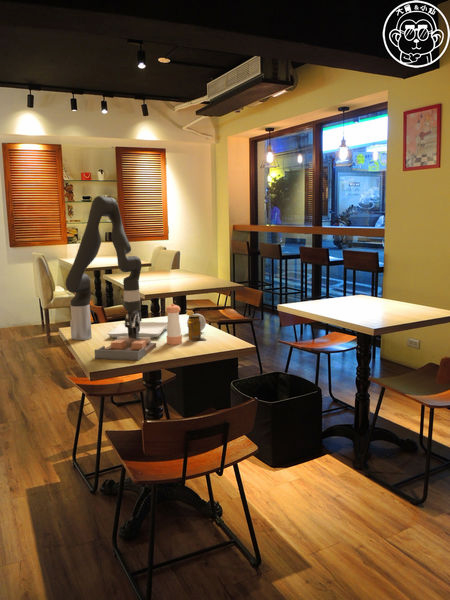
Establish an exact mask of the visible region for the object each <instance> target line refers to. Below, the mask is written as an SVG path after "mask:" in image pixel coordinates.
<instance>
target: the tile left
mask: <svg viewBox="0 0 450 600" xmlns="http://www.w3.org/2000/svg"><path fill="white" fill-rule="evenodd" d="M110 345H111V348H123V347H124V346H126V340H117V339H115V340H113V341H111V342H110Z"/></svg>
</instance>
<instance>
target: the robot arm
mask: <svg viewBox="0 0 450 600" xmlns="http://www.w3.org/2000/svg"><path fill="white" fill-rule="evenodd" d="M102 217H107V218H108V219H109V220H110V222H111V226H112V227H111V233H110V234H111V242H112V244H113V247H114V249H115V252H116V259H117V267H118V268H119V270H120V271H121V272H122V273H130V274H129V275H128V276H126V277H124V278H123V280H122V283H123V306H124V310H125V311H127V314H124V323H125V327H127V328H128V336H133V324H134V323H135V326H138V327H139V331H140V322H143V321H142V311H141V309H142V306H141V305H142V304H141V293H140V292H141V291H140V282H139V281H140V276H141V270H142V265H143V264H142V261H141V258H140V257H139V256H137V255H131V256H127V255H128V254H129V253H130V252H131V251H132V246H131V244H130V241H129V239H128V237H127V235H126V231H125V228H124V225H123V220H122V216H121V211H120V208H119V205H118V202H117V199H115V198H113V197H110V196H103V195H102V196H101V195H97V196H95V197H94V198H93V199H92V203H91V207H90V210H89V214H88V217H87V219H88V220H87V223H86V225H85V228H84V232H83V235H82V237H81V239H80V244H79V246H78V250H77V253H76V256H75V258H74V261H73V263H72V266H71V268H70V270H69V272H68V274H67V277H66V278H65V287H66V290H67V292H69V293H74V294H75V295H74V297H73V298H72V299H70V311H71V312H70V314H71V315H70V316H71V320H70V321H69V322H70V323H69V325H70V336H71V337H70V338H71V340H75V341H83V340H84V341H85V340H86V341H87V340H89V339H91V338H93V336H92V321H91V306H90V303H91V302H90V301H91V298H92V296H91V295H92V293H91V289H92V288H91V287H92V286H91V279H90V276H88V274H87V273H85V272H86V269H87V268H88V267H89V266H90V264H92V262H93V261H94V259H96V257H97V255H98V253H99V250H100V247H101V244H102V238H101V233H100V223H101V219H102Z"/></svg>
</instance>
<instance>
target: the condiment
mask: <svg viewBox="0 0 450 600" xmlns="http://www.w3.org/2000/svg"><path fill="white" fill-rule="evenodd" d="M188 318H189V321H188V320H187V321H188V326H187V327H188V329H187V330H188V331H187V332H188V337H187V338H186V339H187V340H188V342H197V341H207V339H206V338H205V337H204V336H201V335H202V333H201V332H202V331H201V327H200V319H199V316H198V315H193V314H191V315H189V316H188Z"/></svg>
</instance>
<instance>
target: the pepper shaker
mask: <svg viewBox="0 0 450 600" xmlns="http://www.w3.org/2000/svg"><path fill="white" fill-rule="evenodd" d="M165 312H166V313H167V322H168V324H167V328H166V344H167V345H172V346H173V345H180V344H182V343H183V341H182V339H183V338H182V328H181V325H180V324H181V323H180V312H181V307H180V306H179V305H177V304H174V303H171V304H170V305H168V306H166V308H165Z"/></svg>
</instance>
